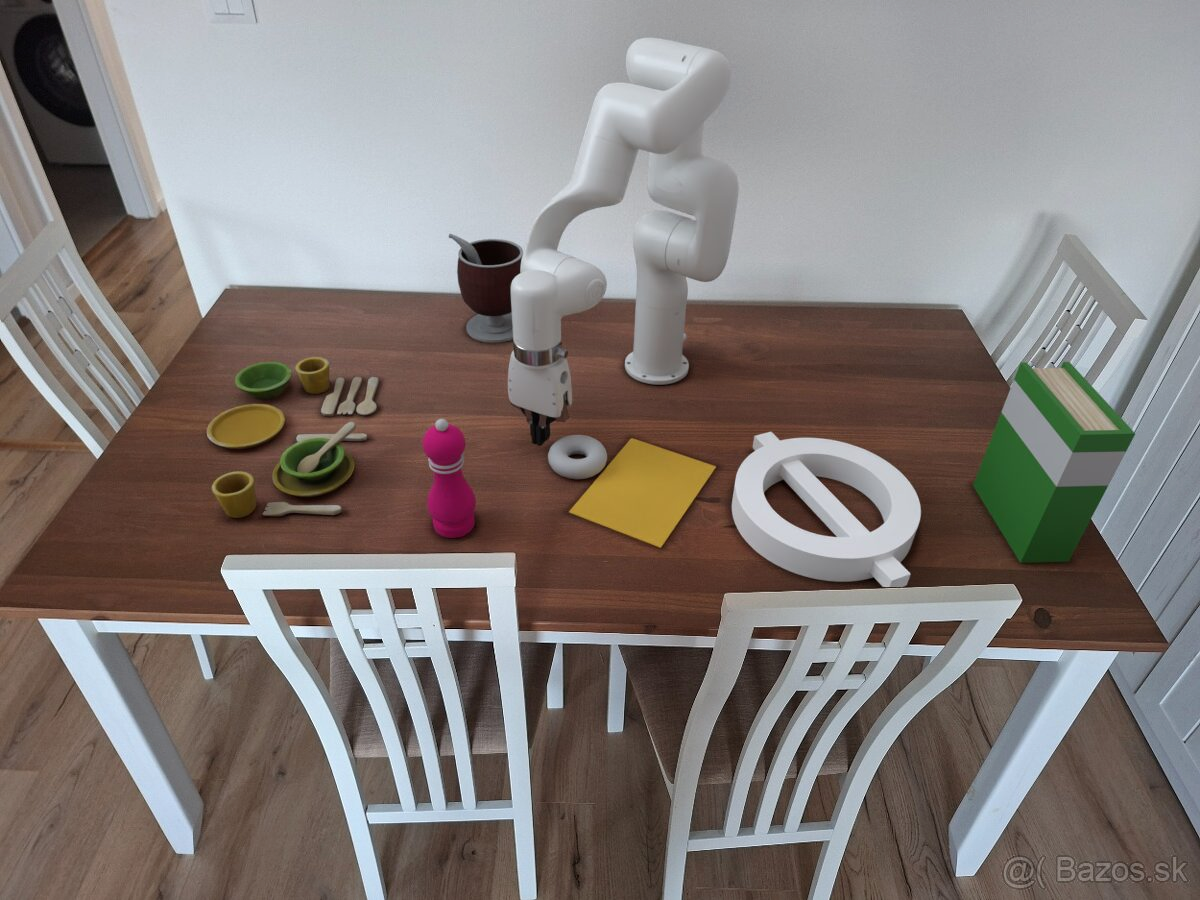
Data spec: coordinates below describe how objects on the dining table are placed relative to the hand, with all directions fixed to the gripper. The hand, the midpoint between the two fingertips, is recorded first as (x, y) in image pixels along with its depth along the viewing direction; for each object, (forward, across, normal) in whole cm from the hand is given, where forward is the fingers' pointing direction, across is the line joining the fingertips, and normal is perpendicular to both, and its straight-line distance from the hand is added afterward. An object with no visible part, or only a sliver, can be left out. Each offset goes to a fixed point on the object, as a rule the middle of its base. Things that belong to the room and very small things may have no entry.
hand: (540, 440), depth 142 cm
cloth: (+2, -20, +1) cm, 21 cm away
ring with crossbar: (+2, -48, -6) cm, 48 cm away
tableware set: (+2, +39, +20) cm, 44 cm away
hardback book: (+2, -76, -20) cm, 78 cm away
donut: (+2, -8, +1) cm, 8 cm away
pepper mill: (+2, +2, +23) cm, 23 cm away
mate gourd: (+2, +30, -30) cm, 43 cm away
